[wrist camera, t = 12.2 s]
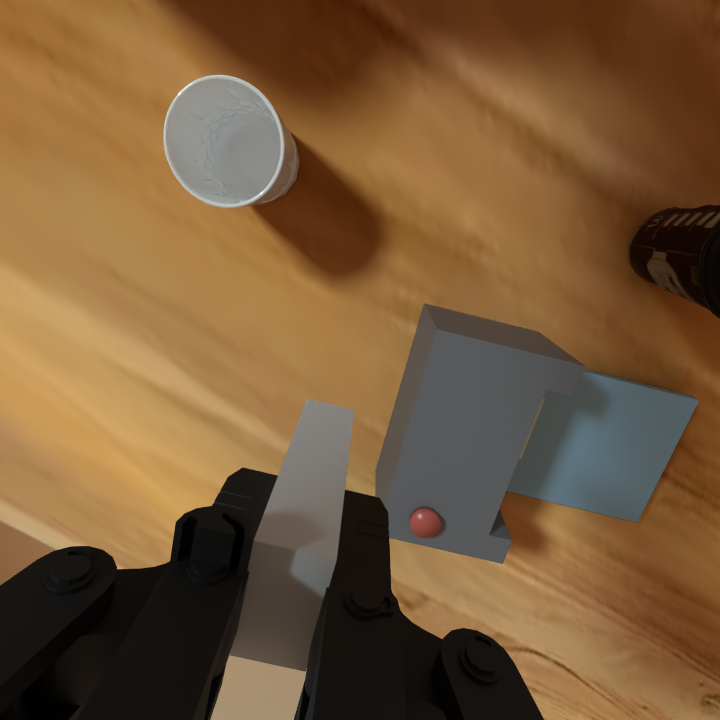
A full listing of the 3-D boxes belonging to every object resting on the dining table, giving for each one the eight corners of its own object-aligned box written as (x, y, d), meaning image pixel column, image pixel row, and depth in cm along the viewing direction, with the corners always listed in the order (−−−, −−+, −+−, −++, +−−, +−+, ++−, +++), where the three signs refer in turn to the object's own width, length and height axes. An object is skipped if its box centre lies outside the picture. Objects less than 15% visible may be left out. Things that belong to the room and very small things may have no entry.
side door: (547, 362, 42) (699, 400, 43) (540, 355, 44) (685, 392, 44) (498, 488, 46) (637, 522, 47) (493, 478, 48) (627, 510, 49)
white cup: (242, 224, 41) (201, 227, 32) (197, 135, 39) (139, 110, 30) (322, 185, 40) (305, 176, 31) (280, 91, 38) (248, 50, 29)
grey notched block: (424, 303, 43) (438, 331, 33) (538, 332, 43) (589, 369, 33) (372, 481, 49) (371, 553, 38) (474, 505, 49) (500, 583, 39)
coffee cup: (684, 309, 42) (812, 349, 30) (598, 283, 42) (692, 313, 29) (734, 211, 40) (897, 211, 27) (643, 183, 39) (766, 169, 27)
